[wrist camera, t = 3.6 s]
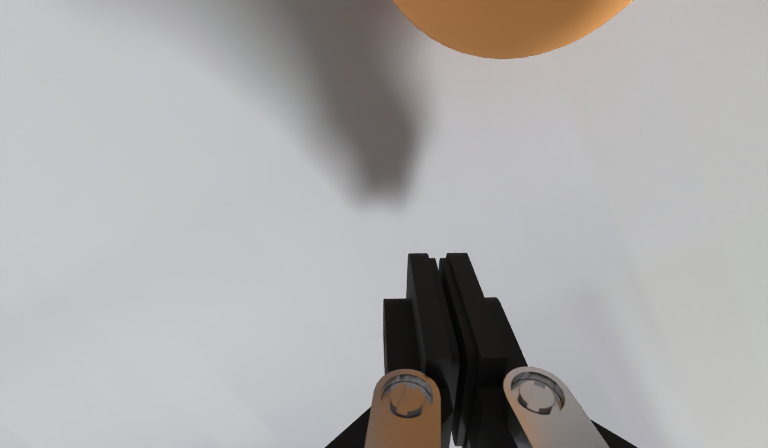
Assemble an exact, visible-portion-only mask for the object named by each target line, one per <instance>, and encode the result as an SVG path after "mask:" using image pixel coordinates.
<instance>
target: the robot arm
mask: <svg viewBox="0 0 768 448" xmlns="http://www.w3.org/2000/svg"><path fill="white" fill-rule="evenodd" d="M383 340H384V367H385V375H384V376H383V377H382V378H381V379H380V380H379V381H378V383H377V384H376V387H375V390H374V393H373V399H372V405H371V407H370V408H369V409H368V410H367V411H366V412H364V413H363V414H362V415H361V416H360V417H359V418H358V419H357V420H355V421H354V422H353V423H352V424H351V425H350V426H349V427H348V428H346V429H345V430H344V431H343V432H342V433H341V434H340V435H339V436H337V437H336V438H335V439H334V440H333V441H332V442H331V443H330V444H328V445H327V446H326V447H325V448H449V444H450V437H451V431H452V436H453V441H454V444H455V446H462V448H637V447H636V446H634V445H632V444H631V443H629V442H627V441H626V440H624V439H622V438H621V437H619V436H617V435H616V434H614V433H612V432H611V431H609V430H607V429H606V428H604V427H602V426H600V425H599V424H597V423H595V422H594V421H592V420H590V419H589V417H588V416H587V414H586V413H585V412H584V410H583V409H582V407H581V406H580V404H579V403H578V402H577V400H576V399H575V397H574V396H573V394H572V393H571V391H570V390H569V389H568V387H567V386H566V385H565V384H564V383H563V382H562V381H561V380H560V379H559V378H558V377H556V376H555V375H553V374H552V373H550V372H548V371H545V370H543V369H540V368H536V367H528V365H527V363H526V361H525V358H524V356H523V354H522V351H521V349H520V347H519V345H518V342H517V340H516V338H515V335H514V333H513V331H512V329H511V326H510V324H509V322H508V319H507V317H506V315H505V312H504V310H503V308H502V306H501V303H500V301H499V300H498V298H496V297H488V298H484V295H483V292H482V290H481V287H480V285H479V282H478V280H477V277H476V275H475V272H474V269H473V267H472V264H471V262H470V259H469V257H468V254H467V253H447V255H446V258H440V261H439V271H438V267H437V263H436V260H435V258H429V256H428V254H427V253H414V254H408V268H407V292H406V299H384V302H383Z"/></svg>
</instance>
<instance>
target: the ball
mask: <svg viewBox="0 0 768 448" xmlns="http://www.w3.org/2000/svg"><path fill="white" fill-rule="evenodd" d="M393 1H394V3H395V4H396V5H397V7H398V8H399V9H400V11H401V12H402V13H403V14H404V15H405V16H406V17H407V18H408V19H409V20H410V21H411V22H412V23H413V24H414V25H415V26H416V27H417V28H418V29H420V30H421V31H422V32H424V33H425V34H426V35H427V36H429V37H430V38H432V39H434V40H435V41H437V42H439V43H441V44H442V45H444V46H446V47H449V48H451V49H454V50H456V51H459V52H462V53H465V54H470V55H474V56H479V57H483V58H495V59H512V58H523V57H528V56H533V55H538V54H542V53H545V52H548V51H551V50H554V49H557V48H560V47H563V46H566V45H568V44H570V43H572V42H574V41H576V40H578V39H580V38H582V37H584V36H586V35H587V34H589V33H591V32H592V31H594V30H595V29H597V28H599V27H600V26H602V25H603V24H605V23H606V22H607V21H608V20H610V19H611V18H612V17H613V16H615V15H616V14H617V13H619V12H620V11H621V10H622V9H624V8H625V7H626V6H627V5H628V4H630V3H631V2H632V1H633V0H393Z"/></svg>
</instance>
